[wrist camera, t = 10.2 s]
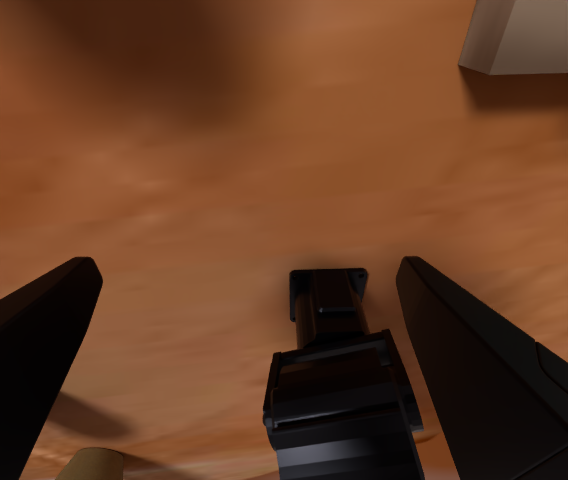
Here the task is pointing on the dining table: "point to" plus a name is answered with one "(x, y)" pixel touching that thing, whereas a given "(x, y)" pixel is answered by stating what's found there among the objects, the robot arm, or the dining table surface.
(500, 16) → the grayish brown panel
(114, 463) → the plant pot
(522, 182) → the dining table surface
